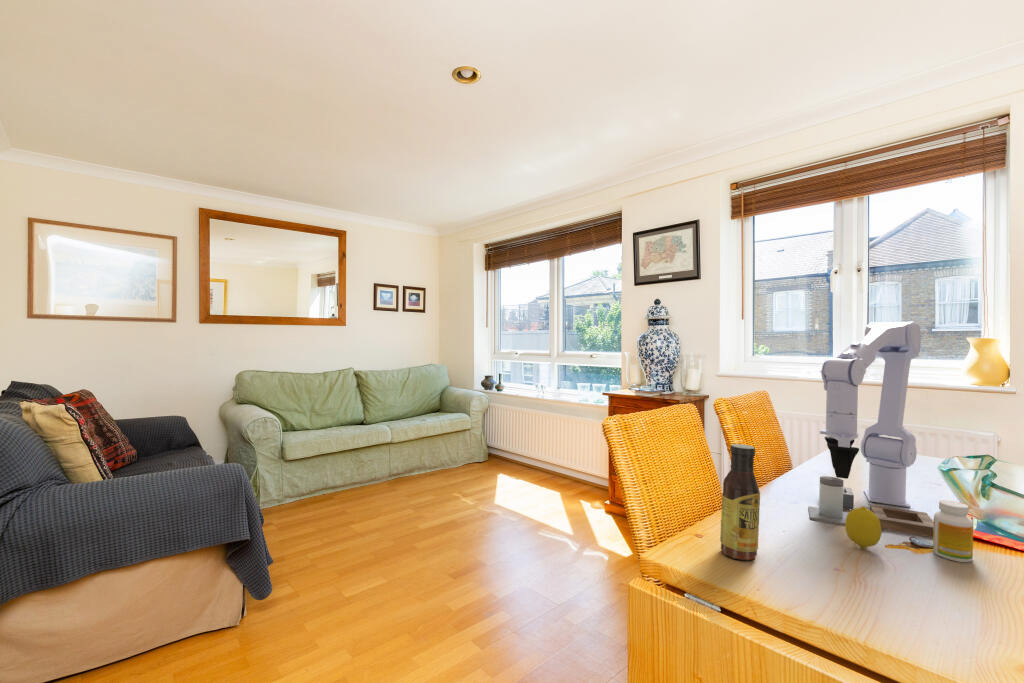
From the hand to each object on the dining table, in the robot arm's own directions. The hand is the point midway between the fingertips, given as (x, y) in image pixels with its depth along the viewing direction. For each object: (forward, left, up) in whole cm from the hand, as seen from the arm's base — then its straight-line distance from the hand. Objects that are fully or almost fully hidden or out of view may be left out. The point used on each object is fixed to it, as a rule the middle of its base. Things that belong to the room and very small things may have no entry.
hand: (840, 473), depth 107 cm
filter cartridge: (+1, -2, -9) cm, 10 cm away
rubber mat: (+1, -2, -10) cm, 10 cm away
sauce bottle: (+32, -18, -10) cm, 38 cm away
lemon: (+17, +2, -10) cm, 20 cm away
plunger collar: (-10, 0, -10) cm, 14 cm away
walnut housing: (-2, +11, -10) cm, 15 cm away
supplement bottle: (+12, +16, -10) cm, 23 cm away
